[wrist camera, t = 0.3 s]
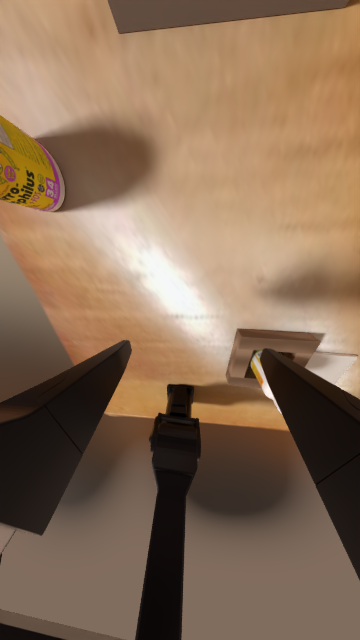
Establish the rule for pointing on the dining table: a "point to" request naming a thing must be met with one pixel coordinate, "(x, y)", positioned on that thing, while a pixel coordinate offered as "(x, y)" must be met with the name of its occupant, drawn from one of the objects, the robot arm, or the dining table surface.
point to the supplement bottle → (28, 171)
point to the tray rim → (204, 11)
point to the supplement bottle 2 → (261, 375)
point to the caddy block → (246, 341)
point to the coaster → (330, 365)
